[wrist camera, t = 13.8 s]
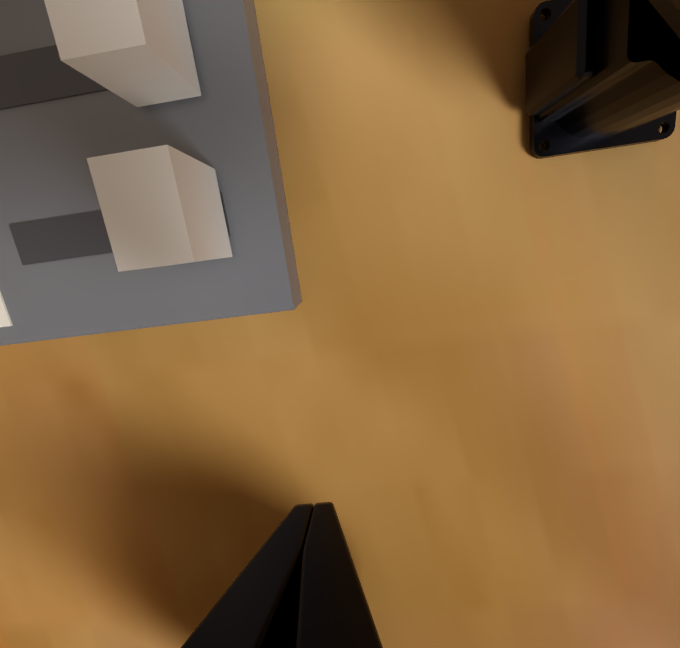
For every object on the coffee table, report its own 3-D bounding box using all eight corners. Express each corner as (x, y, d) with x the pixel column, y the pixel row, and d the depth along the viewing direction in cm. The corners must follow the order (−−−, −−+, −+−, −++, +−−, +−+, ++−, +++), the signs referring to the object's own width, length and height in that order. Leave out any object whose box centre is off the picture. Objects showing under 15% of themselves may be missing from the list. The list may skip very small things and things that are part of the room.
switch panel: (212, -259, 14) (179, -371, 12) (301, 301, 20) (293, 310, 17) (-162, -160, 16) (-266, -241, 13) (18, 336, 21) (-30, 349, 18)
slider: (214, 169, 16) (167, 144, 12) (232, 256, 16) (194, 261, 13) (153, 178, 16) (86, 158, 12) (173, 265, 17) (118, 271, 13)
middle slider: (179, -13, 14) (110, -112, 10) (201, 95, 15) (146, 43, 11) (111, 1, 14) (19, -90, 10) (137, 107, 15) (60, 60, 11)
